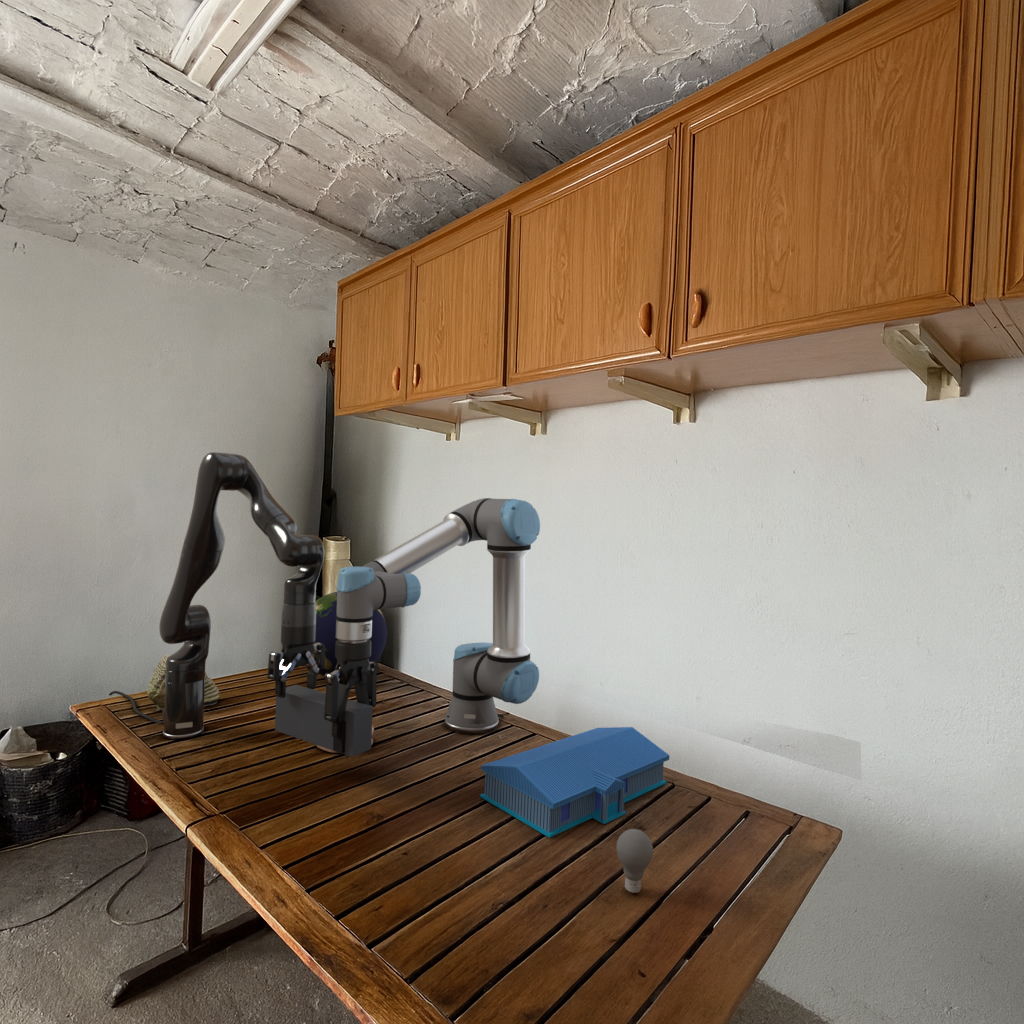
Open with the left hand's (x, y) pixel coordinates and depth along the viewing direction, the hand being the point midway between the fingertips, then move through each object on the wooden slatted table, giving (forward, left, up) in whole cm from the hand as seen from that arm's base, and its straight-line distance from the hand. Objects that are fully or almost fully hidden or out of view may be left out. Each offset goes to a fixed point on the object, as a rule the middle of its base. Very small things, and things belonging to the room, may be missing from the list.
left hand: (296, 692), depth 145 cm
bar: (+8, +2, -9) cm, 12 cm away
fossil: (-60, -6, -18) cm, 63 cm away
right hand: (+17, +5, -8) cm, 19 cm away
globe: (-61, +45, -18) cm, 77 cm away
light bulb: (+77, +24, -18) cm, 83 cm away
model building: (+48, +45, -18) cm, 68 cm away
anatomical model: (-7, +17, -18) cm, 26 cm away
